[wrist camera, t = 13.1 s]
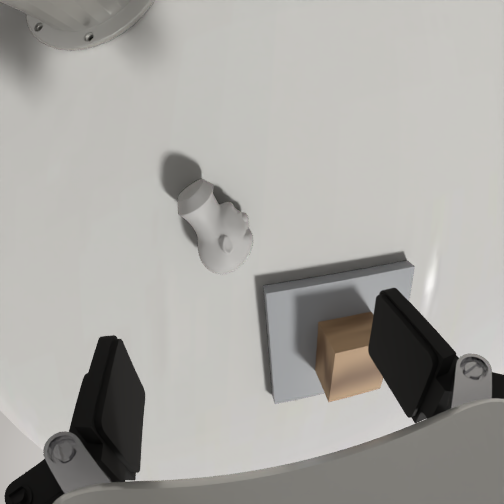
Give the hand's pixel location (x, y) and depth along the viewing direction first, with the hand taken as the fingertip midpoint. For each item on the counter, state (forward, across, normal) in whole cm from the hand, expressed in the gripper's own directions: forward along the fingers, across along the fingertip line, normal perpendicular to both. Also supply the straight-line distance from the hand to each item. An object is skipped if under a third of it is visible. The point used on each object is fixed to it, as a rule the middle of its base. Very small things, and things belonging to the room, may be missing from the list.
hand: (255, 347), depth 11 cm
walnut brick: (+16, -11, +16) cm, 25 cm away
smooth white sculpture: (+18, 0, +1) cm, 18 cm away
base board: (+17, -11, +16) cm, 26 cm away
